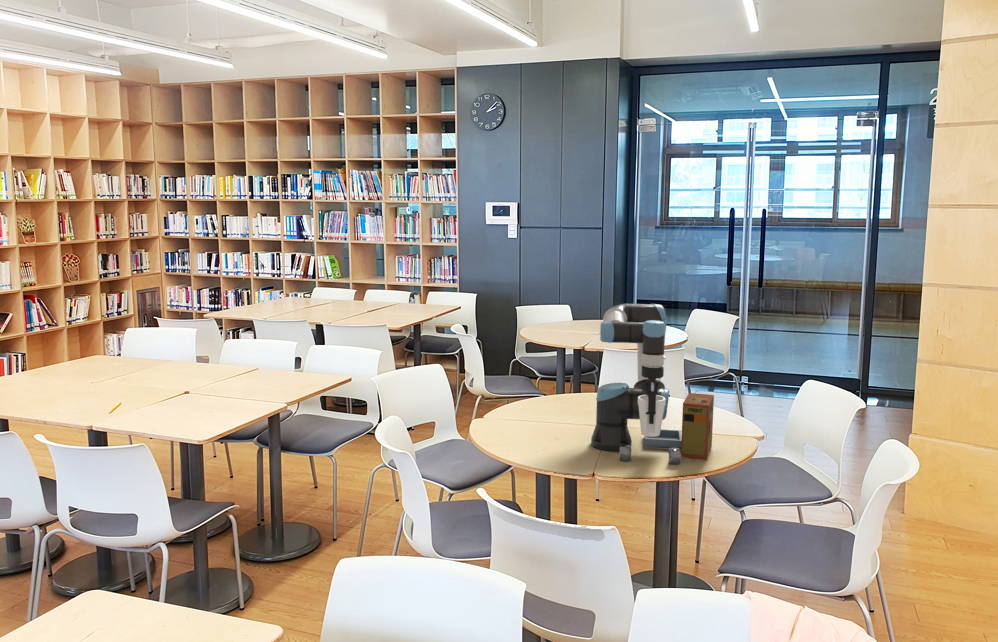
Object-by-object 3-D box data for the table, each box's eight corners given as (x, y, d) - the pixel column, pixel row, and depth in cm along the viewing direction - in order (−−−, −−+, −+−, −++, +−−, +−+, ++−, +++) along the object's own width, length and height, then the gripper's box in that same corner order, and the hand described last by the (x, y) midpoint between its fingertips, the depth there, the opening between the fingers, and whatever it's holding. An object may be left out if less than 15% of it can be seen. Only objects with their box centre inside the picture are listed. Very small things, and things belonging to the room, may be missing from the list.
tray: (644, 447, 280) (644, 438, 279) (644, 437, 293) (644, 428, 293) (682, 449, 277) (682, 440, 277) (680, 439, 291) (680, 430, 290)
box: (687, 444, 284) (689, 392, 282) (711, 447, 281) (713, 395, 278) (680, 457, 269) (682, 403, 266) (706, 460, 266) (709, 405, 263)
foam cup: (666, 438, 258) (667, 401, 256) (639, 437, 259) (640, 401, 257) (661, 430, 268) (662, 394, 266) (635, 429, 268) (636, 394, 266)
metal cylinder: (619, 461, 264) (619, 447, 264) (619, 458, 268) (619, 444, 267) (630, 462, 264) (631, 448, 263) (630, 458, 267) (631, 445, 267)
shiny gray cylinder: (668, 464, 261) (669, 450, 261) (668, 461, 265) (668, 447, 264) (680, 465, 261) (681, 451, 260) (679, 461, 264) (680, 448, 264)
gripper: (664, 372, 248) (662, 438, 252) (662, 359, 270) (660, 420, 273) (641, 371, 249) (639, 436, 253) (641, 358, 271) (639, 418, 274)
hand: (650, 428), depth 263 cm, fingers closed on foam cup, 9 cm apart
